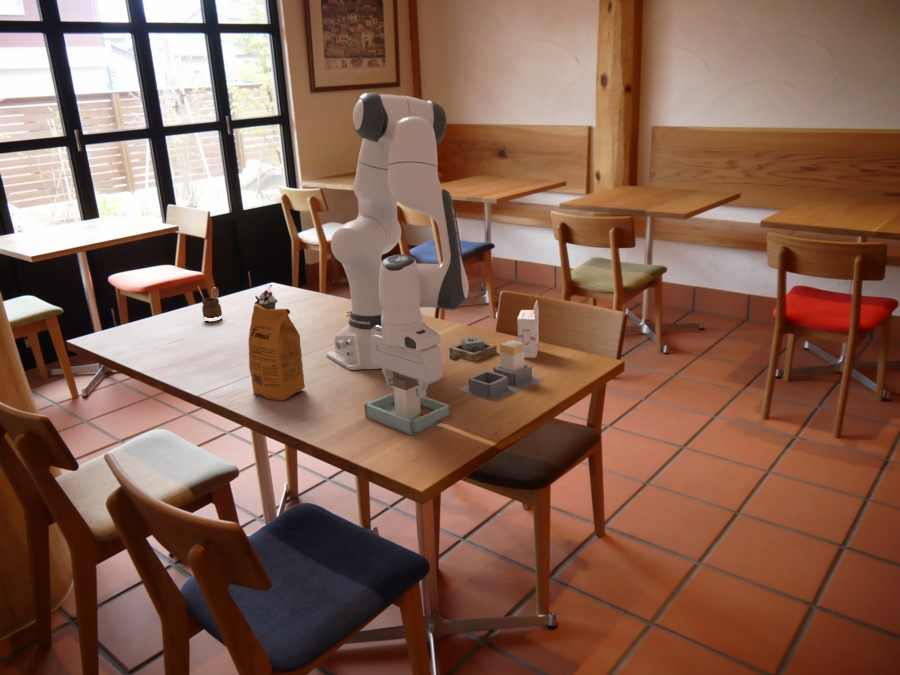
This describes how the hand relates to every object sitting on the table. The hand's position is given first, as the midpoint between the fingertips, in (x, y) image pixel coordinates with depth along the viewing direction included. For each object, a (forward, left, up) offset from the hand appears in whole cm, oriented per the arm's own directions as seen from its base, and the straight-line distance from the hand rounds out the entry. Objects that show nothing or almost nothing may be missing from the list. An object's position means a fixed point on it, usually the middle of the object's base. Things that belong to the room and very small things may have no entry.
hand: (406, 391), depth 163 cm
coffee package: (-36, -10, -6) cm, 38 cm away
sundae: (-80, +16, -6) cm, 82 cm away
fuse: (+5, +30, -5) cm, 31 cm away
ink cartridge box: (-4, +48, -6) cm, 49 cm away
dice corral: (-15, +38, -6) cm, 41 cm away
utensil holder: (-108, +12, -6) cm, 109 cm away
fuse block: (+5, +26, -6) cm, 27 cm away
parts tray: (0, 0, -6) cm, 6 cm away
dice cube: (-15, +38, -6) cm, 41 cm away
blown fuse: (0, 0, -6) cm, 6 cm away
